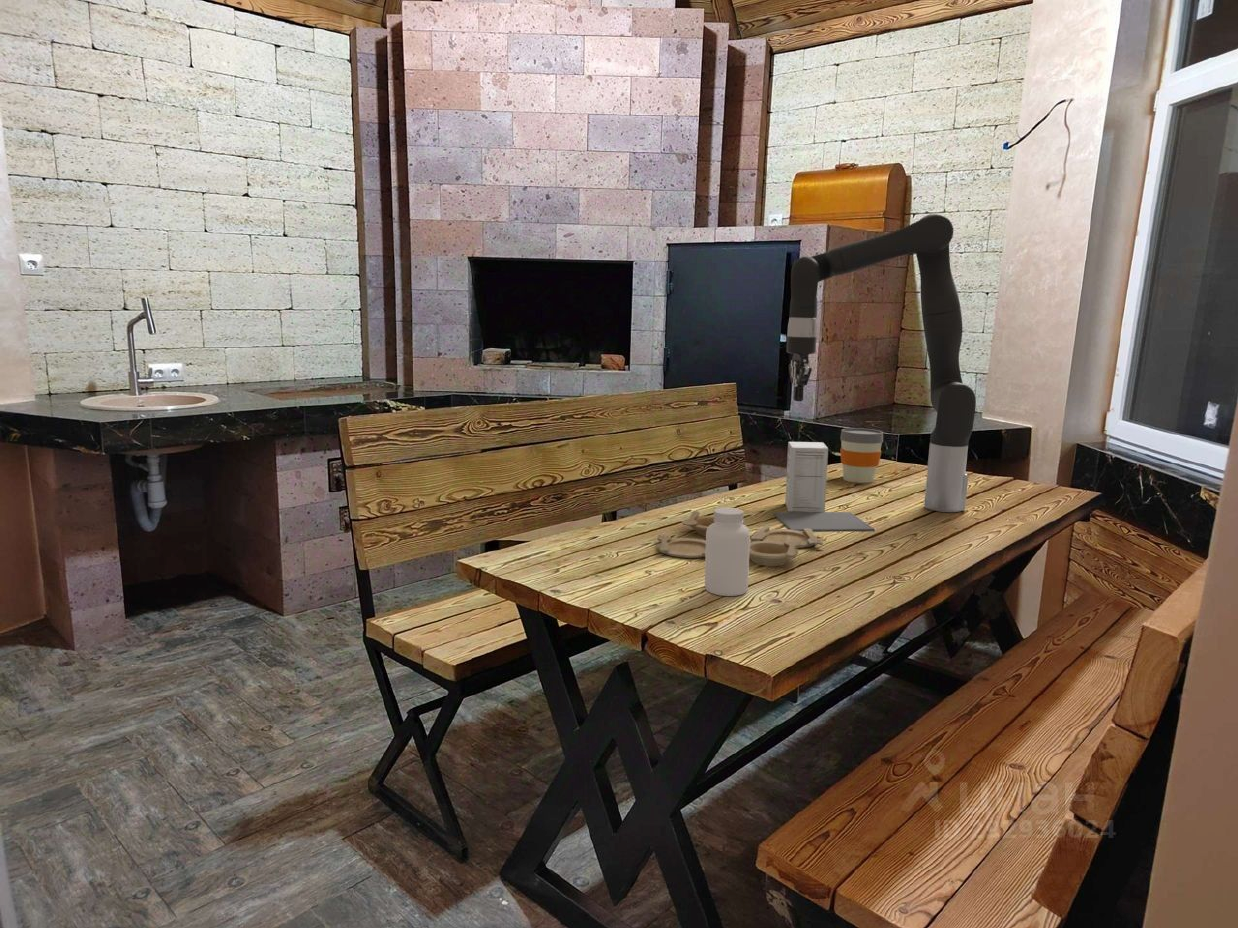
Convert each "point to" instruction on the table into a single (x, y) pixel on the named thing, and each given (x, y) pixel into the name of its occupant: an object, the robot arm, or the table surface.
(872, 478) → the reusable coffee cup
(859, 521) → the mat
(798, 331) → the robot arm
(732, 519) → the pill bottle
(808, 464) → the supplement box
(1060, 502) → the table surface
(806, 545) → the tableware set
